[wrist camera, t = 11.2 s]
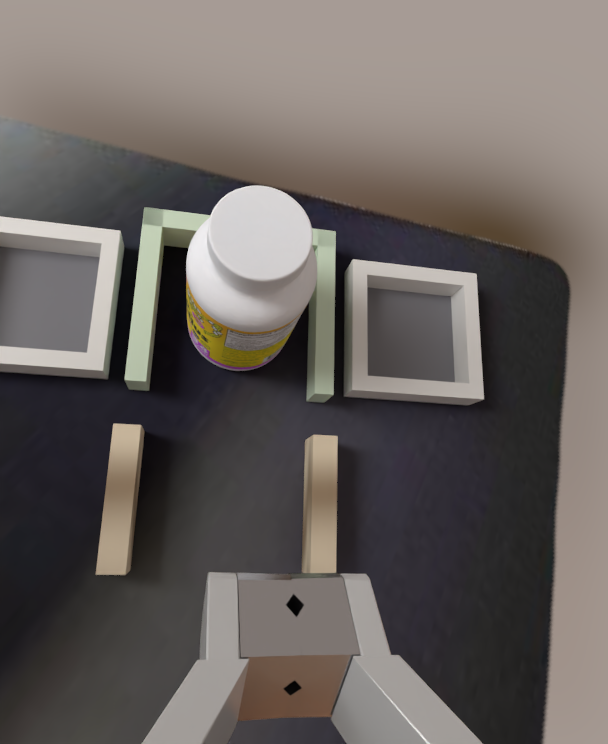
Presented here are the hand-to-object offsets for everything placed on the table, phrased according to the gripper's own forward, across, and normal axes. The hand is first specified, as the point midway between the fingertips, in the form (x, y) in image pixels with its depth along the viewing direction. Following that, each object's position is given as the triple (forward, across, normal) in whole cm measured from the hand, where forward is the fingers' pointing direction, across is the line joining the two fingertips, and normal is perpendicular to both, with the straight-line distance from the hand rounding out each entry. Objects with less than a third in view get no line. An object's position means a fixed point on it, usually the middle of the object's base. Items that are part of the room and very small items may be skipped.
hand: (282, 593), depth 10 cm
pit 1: (+26, +12, +7) cm, 30 cm away
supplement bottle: (+26, -1, +7) cm, 27 cm away
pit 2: (+26, -12, +7) cm, 30 cm away
